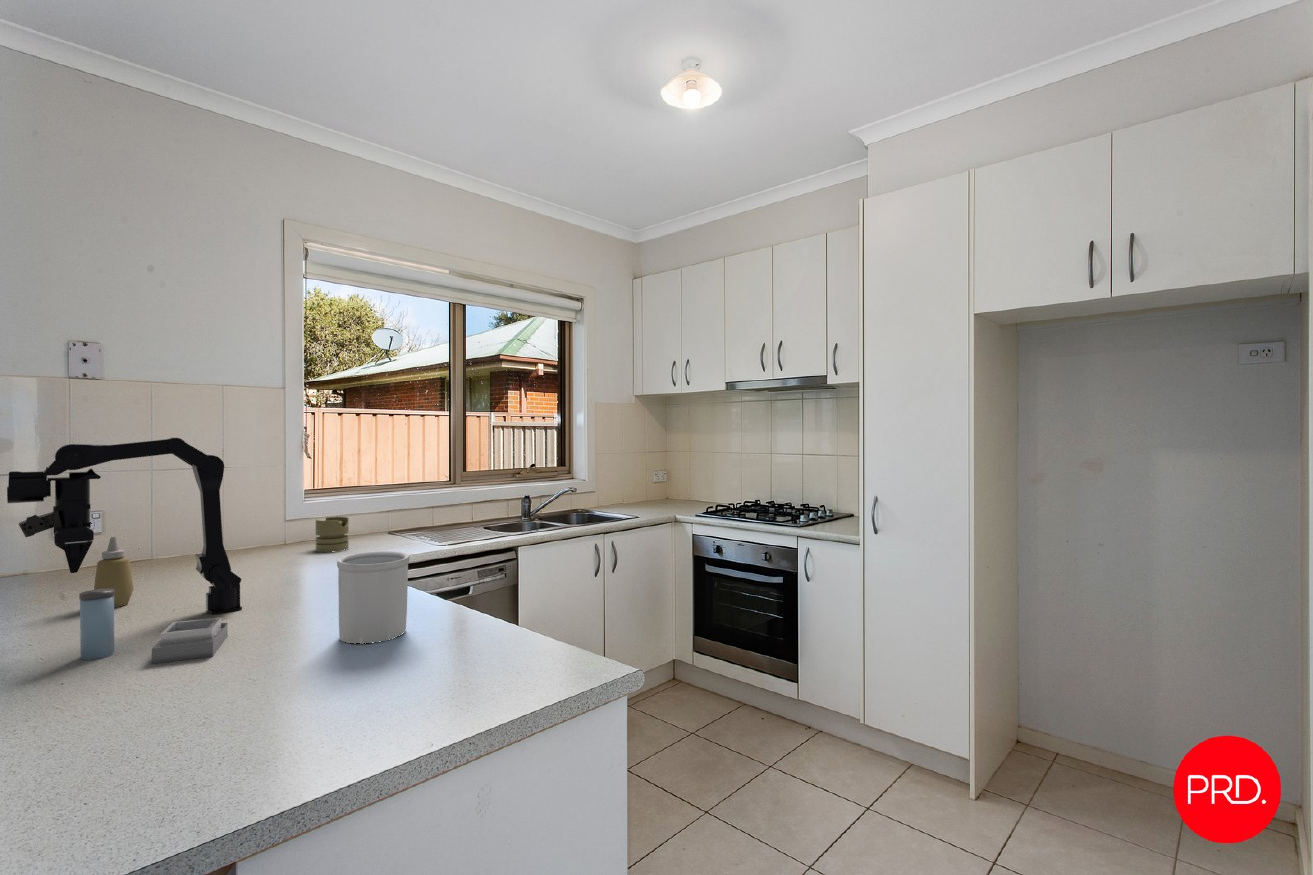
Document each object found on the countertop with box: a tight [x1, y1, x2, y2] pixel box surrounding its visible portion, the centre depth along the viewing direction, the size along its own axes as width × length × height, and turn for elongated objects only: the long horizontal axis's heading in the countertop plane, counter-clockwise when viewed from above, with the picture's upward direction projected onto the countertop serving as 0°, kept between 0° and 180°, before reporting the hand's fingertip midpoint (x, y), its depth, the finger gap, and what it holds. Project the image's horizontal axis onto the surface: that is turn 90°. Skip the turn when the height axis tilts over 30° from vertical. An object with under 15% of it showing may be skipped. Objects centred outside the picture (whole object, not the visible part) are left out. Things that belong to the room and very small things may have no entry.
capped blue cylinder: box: [78, 589, 115, 661], centre depth 128 cm, size 5×5×13 cm
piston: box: [315, 516, 350, 553], centre depth 244 cm, size 11×12×11 cm
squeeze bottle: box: [93, 536, 134, 608], centre depth 165 cm, size 8×8×18 cm
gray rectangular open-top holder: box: [151, 617, 229, 665], centre depth 132 cm, size 14×10×5 cm
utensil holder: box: [336, 550, 410, 645], centre depth 141 cm, size 15×15×18 cm
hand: (73, 569), depth 141 cm, fingers open, 9 cm apart
